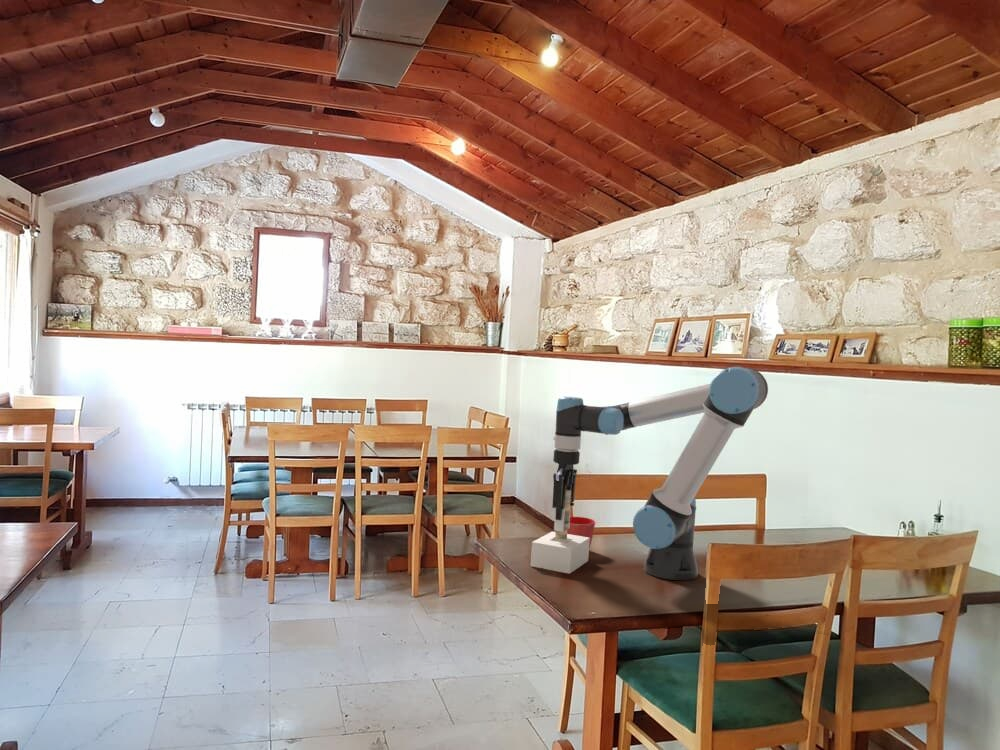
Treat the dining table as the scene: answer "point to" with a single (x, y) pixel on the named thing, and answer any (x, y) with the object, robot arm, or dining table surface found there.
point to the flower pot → (581, 527)
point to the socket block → (560, 552)
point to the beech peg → (566, 519)
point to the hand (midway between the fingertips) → (561, 528)
